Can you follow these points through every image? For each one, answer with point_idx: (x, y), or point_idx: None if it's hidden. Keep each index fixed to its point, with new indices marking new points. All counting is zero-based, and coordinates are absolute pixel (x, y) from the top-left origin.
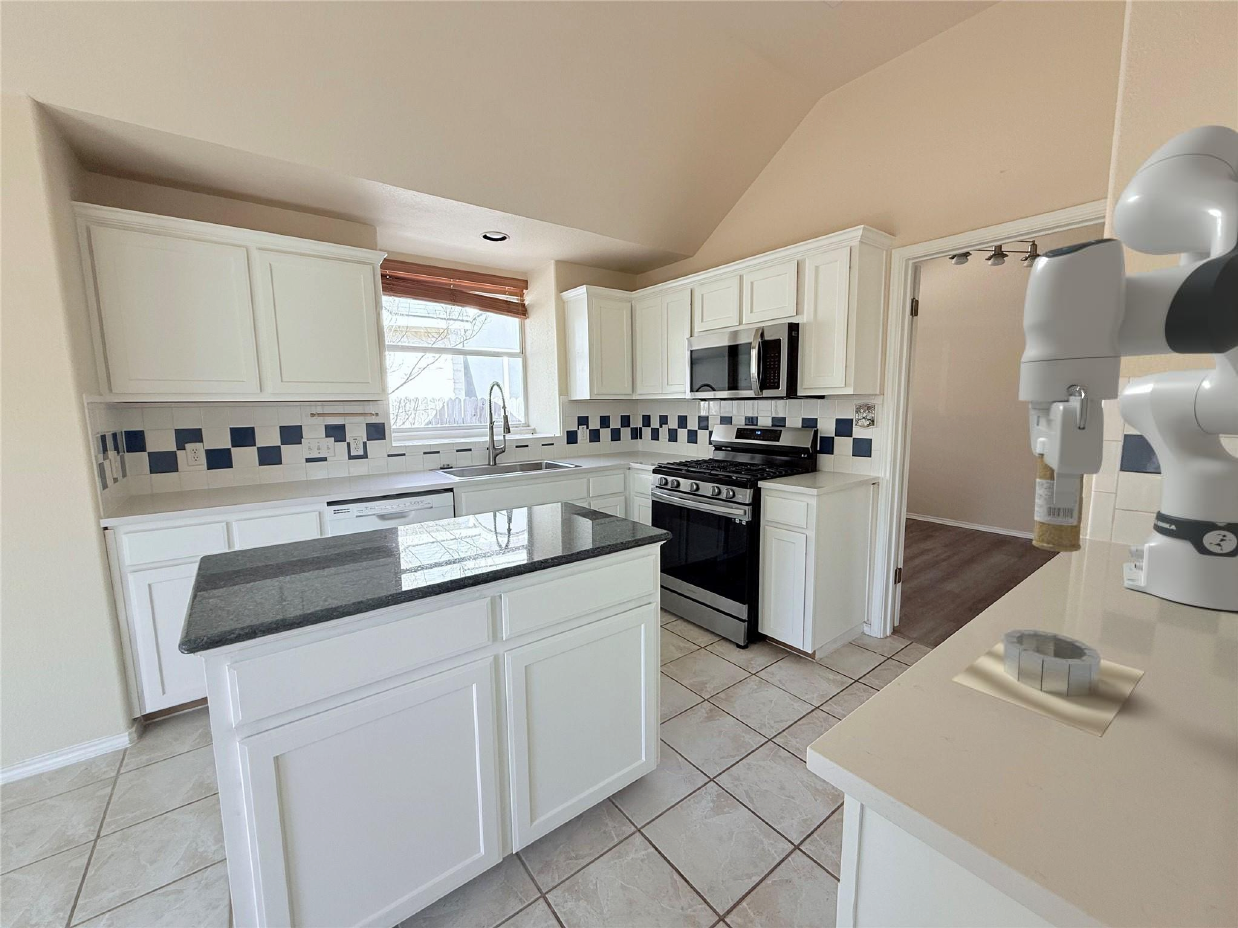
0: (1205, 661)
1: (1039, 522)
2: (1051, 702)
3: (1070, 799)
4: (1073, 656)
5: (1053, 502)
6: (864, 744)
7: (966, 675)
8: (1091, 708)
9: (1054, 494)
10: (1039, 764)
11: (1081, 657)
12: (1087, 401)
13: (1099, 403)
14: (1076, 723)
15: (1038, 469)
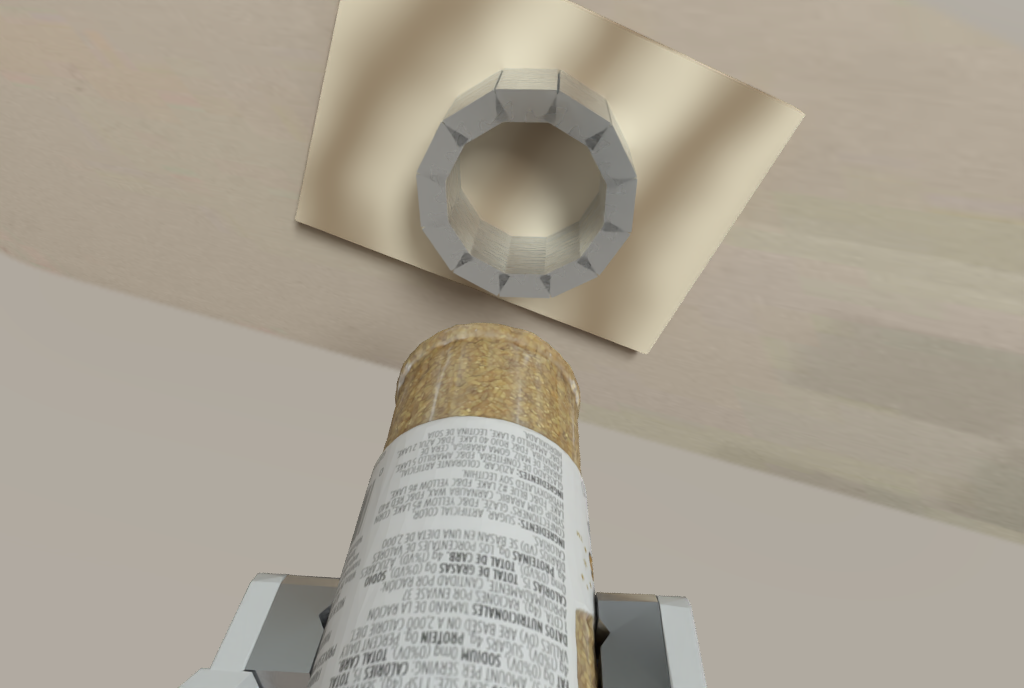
0: (785, 453)
1: (419, 423)
2: (386, 157)
3: (88, 132)
4: (571, 244)
5: (309, 581)
6: None
7: None
8: (406, 228)
9: (236, 640)
10: (158, 97)
11: (549, 260)
12: None
13: None
14: (320, 189)
15: None
